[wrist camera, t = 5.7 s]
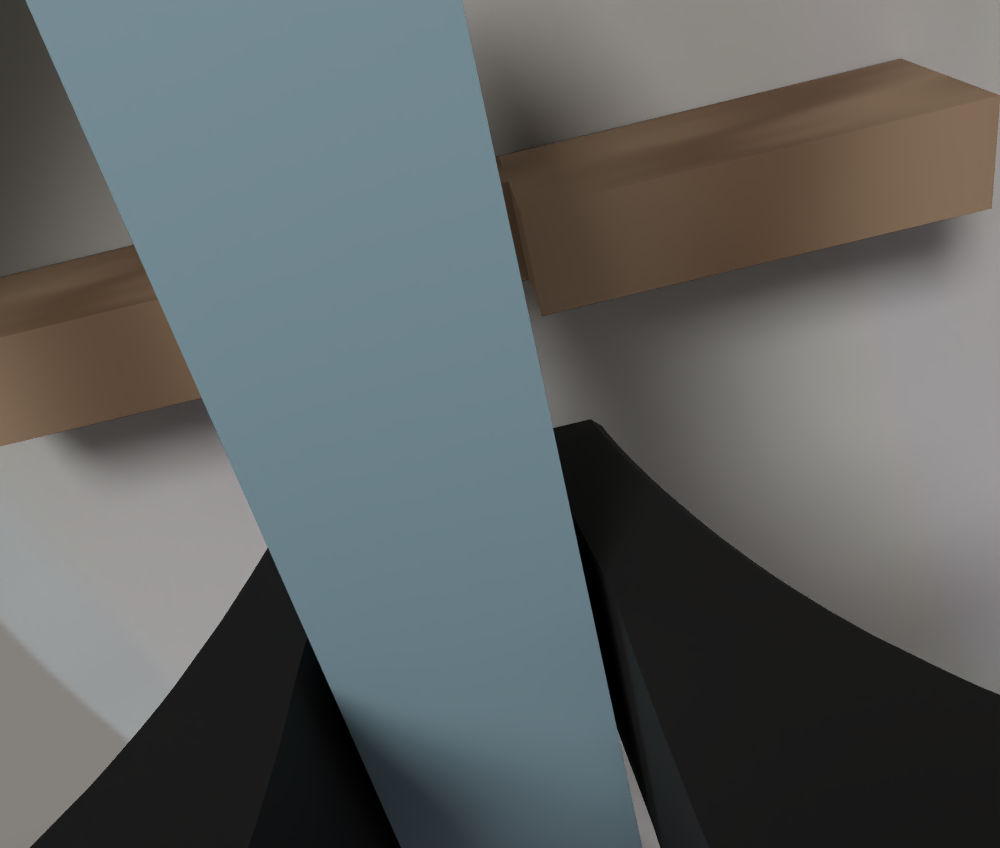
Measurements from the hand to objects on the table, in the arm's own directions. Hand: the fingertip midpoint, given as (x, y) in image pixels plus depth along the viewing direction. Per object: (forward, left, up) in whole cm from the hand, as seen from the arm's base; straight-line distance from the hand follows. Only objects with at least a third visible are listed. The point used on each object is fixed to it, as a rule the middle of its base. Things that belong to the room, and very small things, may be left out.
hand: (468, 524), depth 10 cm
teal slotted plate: (0, 0, -5) cm, 5 cm away
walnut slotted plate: (0, 0, -10) cm, 10 cm away
